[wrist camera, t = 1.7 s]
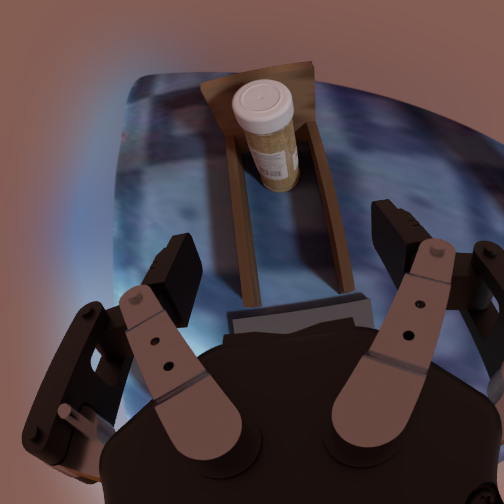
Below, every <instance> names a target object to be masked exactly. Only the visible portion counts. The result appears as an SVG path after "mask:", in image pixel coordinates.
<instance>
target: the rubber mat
mask: <svg viewBox="0 0 504 504" xmlns="http://www.w3.org/2000/svg"><path fill="white" fill-rule="evenodd" d="M349 317H353V320H354V323H355V326H362V327H369V328H373V329H374V323H373V315H372V307H371V301H370V299H365V300H360V301H354V302H349V303H343V304H338V305H332V306H326V307H320V308H314V309H307V310H301V311H294V312H287V313H280V314H273V315H265V316H258V317H249V318H241V319H233V327H234V334H236V333H246V332H266V333H279V334H289V333H293V332H296V331H298V330H301V329H304V328H307V327H310V326H312V325H315V324H318V323H320V322H326V321H332V320H337V319H343V318H349Z"/></svg>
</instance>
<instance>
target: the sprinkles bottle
mask: <svg viewBox="0 0 504 504" xmlns="http://www.w3.org/2000/svg"><path fill="white" fill-rule="evenodd" d="M232 108H233V112H234V114H235V117H236V119H237V122H238V123H239V125H240V126H241V127H242V128H243V131H244V134H245V136H246V141H247V144H248V146H249V149H250V151H251V154H252V156H253V159H254V162H255V164H256V167H257V169H258V171H259V173H260V177H261V181H262V183H263V185H264V186H265V187H266V188H267V189H269V190H271V191H274V192H286V191H289V190H290V189H292V188H294V187H295V186H296V184H297V183H298V181H299V178H300V170H299V167H298V154H297V146H296V139H295V134H294V127H293V119H292V117H293V113H294V107H293V100H292V95H291V92H290V91H289V89H288V88H287V87H286V86H285V85H284V84H282V83H280V82H278V81H275V80H269V79H261V80H256V81H252V82H249V83H247V84H245V85H244V86H242V87H241V88H240V89H239V90H238V91H237V92H236V93H235V95H234V97H233V99H232Z"/></svg>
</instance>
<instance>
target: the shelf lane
mask: <svg viewBox="0 0 504 504" xmlns="http://www.w3.org/2000/svg"><path fill="white" fill-rule="evenodd" d="M261 79H269V80H275V81H278V82H280V83H282V84H284V85H285V86H286V87H287V88H288V89H289V91H290V92H291V95H292V100H293V107H294V113H293V117H292V119H293V127H294V134H295V139H296V143H301V142H307V143H308V146H309V150H310V154H311V158H312V162H313V166H314V170H315V174H316V178H317V182H318V187H319V191H320V195H321V200H322V204H323V209H324V214H325V219H326V223H327V228H328V233H329V239H330V244H331V249H332V255H333V260H334V266H335V272H336V278H337V284H338V291H339V294H344V293H349V292H351V291H354V290H355V287H354V280H353V274H352V269H351V263H350V258H349V252H348V247H347V242H346V237H345V232H344V228H343V223H342V218H341V214H340V209H339V205H338V201H337V197H336V193H335V189H334V185H333V181H332V177H331V173H330V169H329V165H328V162H327V158H326V155H325V151H324V148H323V144H322V141H321V137H320V134H319V131H318V127H317V124H316V121H315V79H314V66H313V64H312V62H311V61H309V62H301V63H293V64H286V65H279V66H273V67H268V68H262V69H257V70H252V71H247V72H243V73H238V74H234V75H230V76H226V77H222V78H218V79H214V80H210V81H207V82H203V83H201V91H202V93H203V95H204V97H205V99H206V101H207V103H208V105H209V107H210V109H211V111H212V113H213V115H214V117H215V119H216V121H217V123H218V125H219V127H220V129H221V131H222V133H223V135H224V137H225V143H226V153H227V163H228V173H229V182H230V192H231V201H232V210H233V219H234V228H235V237H236V246H237V255H238V264H239V272H240V281H241V289H242V297H243V306H244V307H260V306H262V305H261V298H260V290H259V282H258V274H257V266H256V259H255V251H254V243H253V235H252V228H251V220H250V212H249V205H248V197H247V189H246V182H245V174H244V166H243V159H242V153H246V152H251V151H250V149H249V146H248V144H247V141H246V136H245V134H244V131H243V128H242V127H241V126H240V125H239V123H238V122H237V119H236V117H235V114H234V112H233V108H232V99H233V97H234V95H235V93H236V92H237V91H238V90H239V89H240V88H241V87H242V86H244V85H245V84H247V83H249V82H252V81H256V80H261Z"/></svg>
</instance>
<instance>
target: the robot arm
mask: <svg viewBox="0 0 504 504" xmlns="http://www.w3.org/2000/svg"><path fill="white" fill-rule="evenodd" d="M371 222H372V241H373V245H374V247H375V249H376V251H377V253H378V254H379V256H380V258H381V260H382V262H383V264H384V265H385V267H386V269H387V271H388V273H389V275H390V277H391V278H392V280H393V282H394V284H395V286H396V288H397V290H398V292H397V294H396V296H395V299H394V301H393V303H392V305H391V307H390V309H389V312H388V314H387V316H386V318H385V320H384V322H383V324H382V326H381V328H380V330H377V329H373V328H369V327H362V326H355V323H354V320H353V317H349V318H343V319H337V320H332V321H326V322H320V323H318V324H315V325H312V326H310V327H307V328H304V329H301V330H298V331H296V332H293V333H289V334H279V333H266V332H246V333H236V334H226V335H224V337H223V344H222V345H219V346H216V347H214V348H211V349H209V350H207V351H206V352H204V353H202V354H201V355H199V356H198V357H196V356H195V354H194V353H193V351H192V350H191V349H190V347H189V346H188V344H187V343H186V341H185V340H184V338H183V337H182V335H181V334H180V332H179V331H178V329H177V328H184V327H187V326H188V322H189V319H190V315H191V312H192V308H193V305H194V301H195V298H196V294H197V291H198V287H199V284H200V281H201V277H202V273H203V269H202V263H201V260H200V257H199V255H198V252H197V249H196V247H195V244H194V241H193V239H192V236H191V235H190V233H184V234H179V235H174V236H172V238H171V239H170V241H169V243H168V245H167V247H166V248H164V249H163V250H162V251H161V252H160V253H158V254H157V256H156V257H155V259H154V261H153V264H152V265H151V266H150V269H149V270H148V272H147V274H146V276H145V278H144V280H143V281H142V283H141V285H139V286H135V287H133V288H131V289H129V290H128V291H127V292H125V293H124V294H123V295H122V297H121V298H120V301H119V305H118V306H116V307H113V308H110V309H107V310H105V309H104V307H103V305H102V304H101V303H100V302H98V301H94V302H91V303H89V304H86V305H85V306H83V307H82V308H81V309H80V310H79V311H78V313H77V314H76V316H75V318H74V319H73V321H72V323H71V325H70V327H69V329H68V331H67V332H66V334H65V336H64V338H63V340H62V342H61V344H60V346H59V348H58V350H57V352H56V354H55V356H54V358H53V360H52V362H51V364H50V366H49V368H48V371H47V372H46V375H45V377H44V379H43V381H42V384H41V386H40V388H39V391H38V393H37V396H36V398H35V400H34V402H33V405H32V407H31V410H30V413H29V416H28V418H27V421H26V423H25V426H24V429H23V432H22V444H23V447H24V448H25V450H26V451H28V452H29V453H30V454H32V455H34V456H36V457H37V458H39V459H40V460H42V461H44V463H46V464H47V465H49V466H50V467H52V468H54V469H56V470H58V471H59V472H61V473H63V474H65V475H67V476H69V477H73V478H75V479H78V480H79V481H82V482H84V483H86V484H94V483H96V482H101V483H102V486H103V492H104V499H105V504H504V503H503V501H502V499H501V496H500V494H499V491H498V487H497V466H498V458H499V451H500V446H501V445H503V444H504V250H503V249H502V248H501V247H500V246H499V245H497V244H495V243H493V242H489V241H479V242H477V243H476V244H475V245H474V249H473V253H456V252H455V249H454V247H453V246H452V245H451V244H450V243H448V242H447V241H444V240H441V239H435V238H432V237H431V236H430V235H429V233H428V232H427V231H426V230H425V229H424V228H423V227H422V226H421V225H420V223H419V222H418V221H417V220H416V219H415V218H414V217H413V216H412V215H411V214H410V213H409V212H407V211H405V210H403V209H397V208H396V206H395V205H394V204H393V203H392V202H391V201H390V200H389V199H386V200H379V201H373V202H372V204H371ZM493 295H494V297H495V298H496V300H497V302H498V304H499V313H498V311H497V310H496V308H495V306H494V305H493V303H492V301H491V299H492V297H493ZM445 310H459V311H460V313H461V315H462V317H463V319H464V321H465V323H466V325H467V327H468V329H469V331H470V333H471V335H472V337H473V339H474V342H475V344H476V346H477V348H478V351H479V353H480V355H481V357H482V360H483V362H484V365H485V367H486V370H487V372H488V375H489V377H490V381H489V384H488V389H487V394H488V397H486V396H485V395H484V394H482V393H481V392H479V391H478V390H476V389H474V388H473V387H471V386H470V385H468V384H467V383H465V382H463V381H462V380H460V379H459V378H457V377H456V376H454V375H452V374H451V373H449V372H448V371H446V370H444V369H443V368H441V367H440V366H438V365H437V364H435V363H433V362H432V361H431V359H432V356H433V353H434V350H435V347H436V344H437V340H438V337H439V333H440V330H441V326H442V322H443V319H444V315H445ZM95 348H96V349H97V350H98V352H99V353H100V354H101V355H102V357H101V358H100V361H99V364H98V366H97V369H96V371H95V372H94V371H93V369H92V367H91V357H92V354H93V352H94V350H95ZM134 356H135V359H136V361H137V363H138V366H139V368H140V371H141V373H142V375H143V377H144V380H145V382H146V384H147V386H148V388H149V391H150V393H151V395H152V397H153V399H152V400H151V401H150V402H149V403H148V404H146V405H145V406H144V407H143V408H142V409H141V410H140V411H139V412H138V413H137V414H136V415H134V416H133V417H132V418H131V419H130V420H129V421H128V422H127V423H126V424H125V425H123V426H122V427H121V428H120V429H119V430H118V431H117V432H115V429H114V424H115V420H116V416H117V413H118V409H119V405H120V401H121V398H122V394H123V391H124V387H125V384H126V380H127V377H128V374H129V370H130V367H131V364H132V361H133V358H134Z"/></svg>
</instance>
